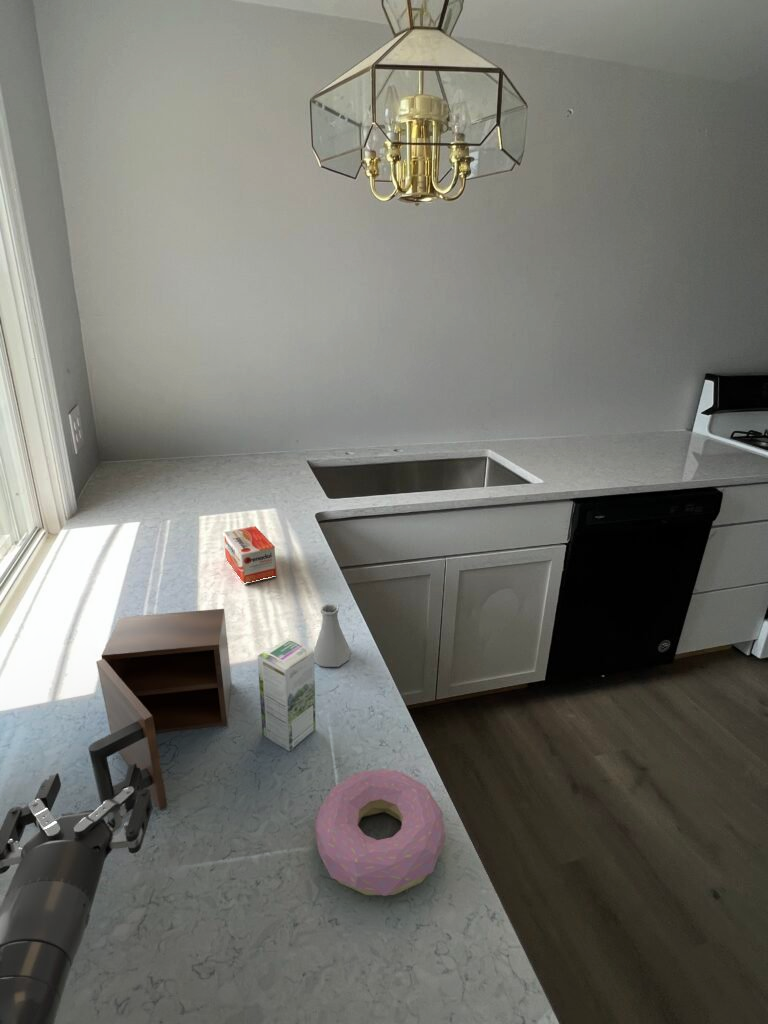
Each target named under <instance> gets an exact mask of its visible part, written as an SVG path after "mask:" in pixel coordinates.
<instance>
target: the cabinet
mask: <svg viewBox="0 0 768 1024" xmlns="http://www.w3.org/2000/svg"><path fill="white" fill-rule="evenodd" d="M225 612H226V611H225V608H215V609H203V610H193V611H190V610H189V611H180V612H179V611H178V612H168V613H154V614H144V615H143V614H141V615H130V616H120V617H118V618H117V619H118V620H117V621H116V623H115V626H114V628H113V630H112V632H111V634H110V635H109V638H108V641H107V642H106V644H105V647H104V649H103V651H102V653H101V659H104V660H105V661H106V662H107V663H108V664H109V665H110V667H111V668H112V669H113V670H114V671H115V672H116V674H117V675H118V676H119V677H120V678H121V679H122V681H123V682H124V683H125V684H126V685H127V687H128V688H129V689H130V690H131V691H132V692H133V694H134V695H135V696H136V697H137V698H138V699H139V701H140V702H141V703H142V704H143V705H144V706H145V708H146V709H147V710H148V711H149V712H150V713H151V715H152V716H153V721H154V727H155V733H156V735H160V734H161V735H162V734H169V733H170V734H171V733H178V732H187V731H195V730H203V729H211V728H219V727H228V724H229V714H230V704H231V695H232V686H233V684H232V673H231V663H230V654H229V644H228V636H227V635H228V633H227V624H226V623H227V622H226V614H225Z"/></svg>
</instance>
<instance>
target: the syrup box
mask: <svg viewBox="0 0 768 1024" xmlns="http://www.w3.org/2000/svg"><path fill="white" fill-rule="evenodd" d="M257 669H258V684H259V685H258V686H259V699H260V701H259V703H260V716H261V717H260V718H261V732H262V733H261V734H262V736H263V737H265V738H266V739H268V740H269V741H271V742H273V743H274V744H275V745H278V746H279V747H281V748H283V749H284V750H286V751H287V752H291V751H293V750H294V749H295V748H296V747H297V746H299V745H300V744H301V743H302V742H303V741H304V740H305V739H307V738H308V737H309V736H310V735H311V734H313V733H314V732H315V731H316V729H317V728H316V727H317V726H316V725H317V724H316V676H315V675H316V674H315V671H316V670H315V662H314V652H313V650H312V649H310V648H308V647H307V646H305V645H304V644H301V643H299V642H298V641H295V640H293V639H290V638H287V637H285V638H284V639H282V640H281V641H279V642H277V643H276V644H274V645H273V646H271V647H269V648H267V649H266V650H265V651H263V652H261V653H260V654H258V655H257Z"/></svg>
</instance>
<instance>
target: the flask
mask: <svg viewBox="0 0 768 1024" xmlns="http://www.w3.org/2000/svg"><path fill="white" fill-rule="evenodd" d="M339 609H340V606H338V605H336V604H333V603H326V604H324V605H322V606H321V609H320V614H321V615H322V621H321V627H320V630H319V633H318V635H317V639H316V641H315V645H314V646H313V650H312V651H313V652H314V664H317V665H319V666H320V667H328V668H330V667H331V668H339V667H340V666H342V665H344V664H345V663H346V662H348V661H349V660H350V656H351V648H350V646H349V644H348V641H347V640H346V639H347V638H346V637H345V636H344V632H343V630H342V629H341V625H340V622H339V617H338V614H339Z"/></svg>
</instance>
